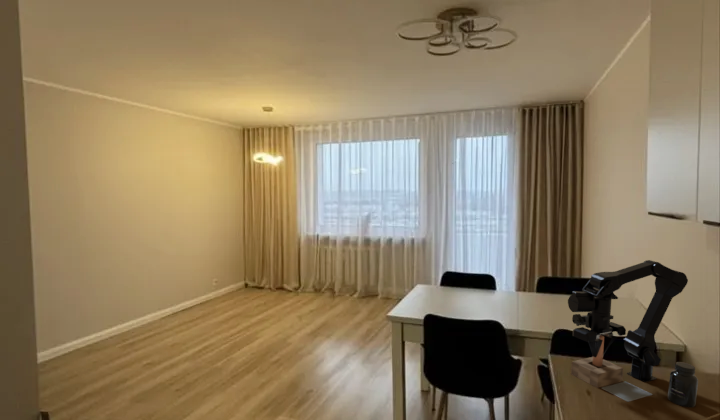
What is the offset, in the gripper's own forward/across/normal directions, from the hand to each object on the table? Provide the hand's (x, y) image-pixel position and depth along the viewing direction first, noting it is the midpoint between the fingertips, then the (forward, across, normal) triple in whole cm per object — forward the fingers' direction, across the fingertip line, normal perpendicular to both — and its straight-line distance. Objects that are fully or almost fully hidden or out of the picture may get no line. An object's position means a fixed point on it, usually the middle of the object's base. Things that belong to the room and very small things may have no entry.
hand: (597, 356), depth 143 cm
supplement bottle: (+8, -11, +20) cm, 25 cm away
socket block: (+8, 0, 0) cm, 8 cm away
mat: (+8, -1, +10) cm, 13 cm away
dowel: (+3, 0, 0) cm, 3 cm away
